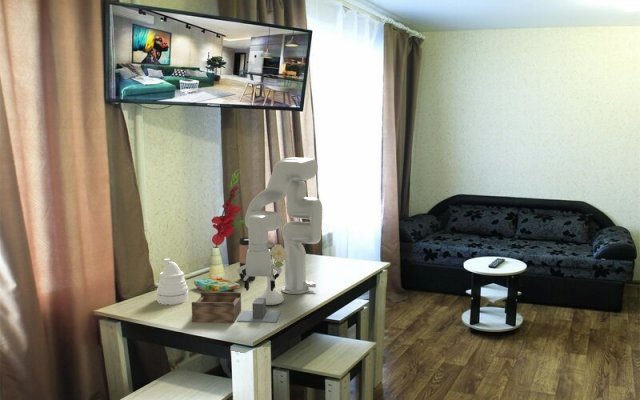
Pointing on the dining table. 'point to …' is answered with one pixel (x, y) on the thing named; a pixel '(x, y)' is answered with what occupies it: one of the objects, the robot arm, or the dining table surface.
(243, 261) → the travel mug
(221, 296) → the walnut box
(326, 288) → the dining table surface
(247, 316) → the cover plate
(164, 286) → the honey pot
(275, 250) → the flower in vase
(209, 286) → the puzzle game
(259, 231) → the robot arm
